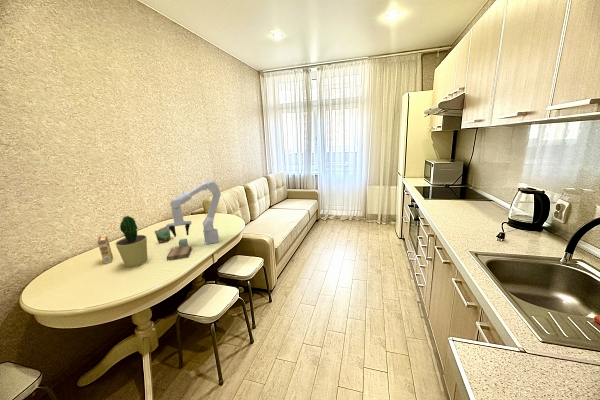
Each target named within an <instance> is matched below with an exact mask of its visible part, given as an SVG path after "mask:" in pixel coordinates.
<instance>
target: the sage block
mask: <svg viewBox="0 0 600 400" xmlns="http://www.w3.org/2000/svg"><path fill="white" fill-rule="evenodd" d="M178 246H179V247H178V248H180V247H187V246H189V243H188V238H181V239H179V240H178Z"/></svg>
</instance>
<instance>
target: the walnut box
mask: <svg viewBox="0 0 600 400" xmlns="http://www.w3.org/2000/svg"><path fill="white" fill-rule="evenodd" d="M192 249H193V248H192V246H191V245H188V246H187V247H180V248H179V247H175V248H171V249H170V250H169V252H168V253H167V255H166V260H167V261H168V260H169V261H174V260H182V259H188V258H190V255H191V252H192Z"/></svg>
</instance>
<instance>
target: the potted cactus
mask: <svg viewBox="0 0 600 400" xmlns="http://www.w3.org/2000/svg"><path fill="white" fill-rule="evenodd" d="M119 230H120V232H121V233H122V234H123V238H121V239H118V240H117V241H116V242H115V243H114V244H115V246H116V249H117V252H118V253H119V255H120V257H121V259H122V262H123V264H124V265H125V267H127V268H134V267H138V266H141V265H144V264H145V263H146V262H148V244H147V243H148V242H147V241H148V240H147V235H145V234H138V230H139V228H138V225H137V222H136V219H135V217H134V218H133V216H130V215H126V216H125V215H124V216H122V220H121V222H120V223H119Z"/></svg>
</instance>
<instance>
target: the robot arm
mask: <svg viewBox="0 0 600 400" xmlns="http://www.w3.org/2000/svg"><path fill="white" fill-rule="evenodd" d="M208 190H209V191H210V192H211V193H212V194H211V195H212V198H211V200H210V205H209V208H208V211H207V214H206V216H205V219H204V220H203V222H202V225H203V230H202V232H203V237H204V239H203V240H204V242H203V245H209V244H217V243H219V236H220V235H219V231H218V228H215V227H214V222H215V221H214V219H215V215H216V211H217V209H218V205H219V202H220V199H221V191H220V188H219V185H218V184H217V183H216V181H215V180H213V179H208V180H207V181H204V182H203V183H200V184H199V185H197V186H196V187H194V188H193V189H191V190H190V191H184V192H183V191H182V192H181V194H179V195H178V196H175V198H173V199H171V201H170V205H169V206H170V207H171V210H172V211H171V213H172V217H173V222H171V223H167V224H166V225H167V227H169V230H170V233H172V235H173V237H174V238H176V237H177V233H176V227H178V226H179V227H180V226H184V228H185V232H186V236H189V230H190V226H191V225H192V221H191V220H184V215H183V210H182V206H181V205H184V204H185V203H187V202H189V201H190V200H192V197H193V196H195V195H196V194H198V193H200V192H202V191H208Z"/></svg>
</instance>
